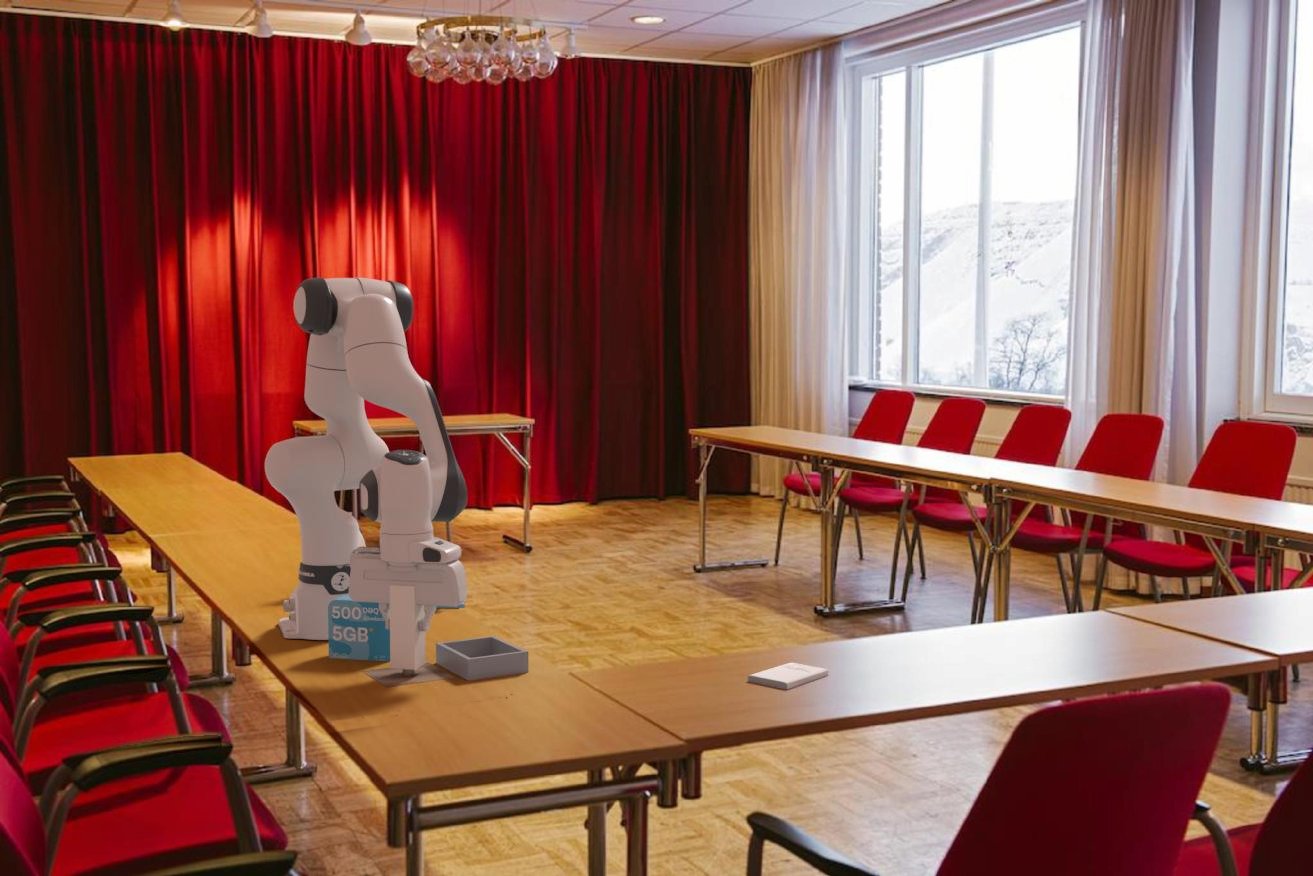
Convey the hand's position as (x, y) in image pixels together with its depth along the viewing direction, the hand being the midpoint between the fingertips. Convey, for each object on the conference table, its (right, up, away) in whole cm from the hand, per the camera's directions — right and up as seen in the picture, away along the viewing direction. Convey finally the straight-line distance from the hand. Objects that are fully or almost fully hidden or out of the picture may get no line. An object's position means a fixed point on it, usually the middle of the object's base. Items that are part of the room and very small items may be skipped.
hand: (407, 629), depth 227 cm
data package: (-10, -8, +13) cm, 19 cm away
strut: (0, -6, 0) cm, 6 cm away
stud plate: (0, -9, +1) cm, 9 cm away
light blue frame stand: (-4, -4, +66) cm, 66 cm away
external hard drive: (+64, -10, +4) cm, 65 cm away
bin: (+12, -9, +5) cm, 16 cm away
